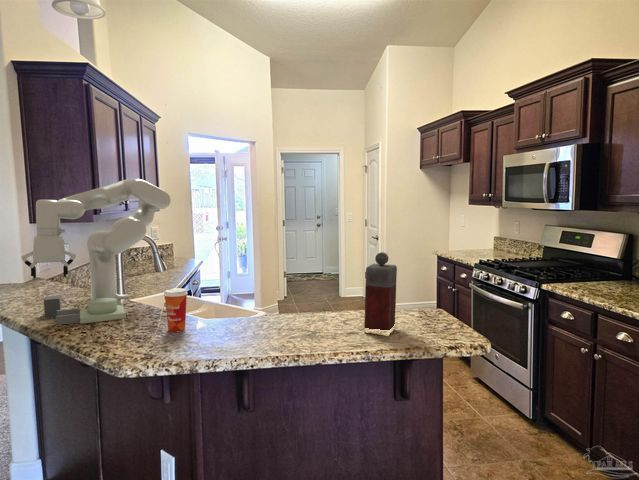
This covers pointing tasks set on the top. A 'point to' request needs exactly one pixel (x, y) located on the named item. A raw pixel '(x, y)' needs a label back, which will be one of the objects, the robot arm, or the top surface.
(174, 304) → the paper cup
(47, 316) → the grey rectangular block
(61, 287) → the top surface
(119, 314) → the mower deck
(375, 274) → the square decanter
